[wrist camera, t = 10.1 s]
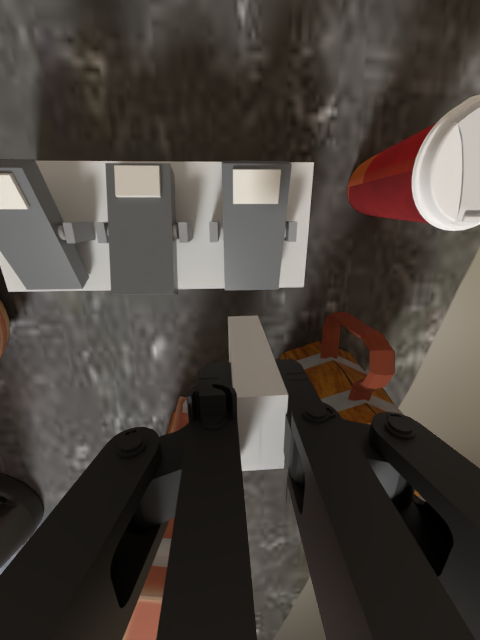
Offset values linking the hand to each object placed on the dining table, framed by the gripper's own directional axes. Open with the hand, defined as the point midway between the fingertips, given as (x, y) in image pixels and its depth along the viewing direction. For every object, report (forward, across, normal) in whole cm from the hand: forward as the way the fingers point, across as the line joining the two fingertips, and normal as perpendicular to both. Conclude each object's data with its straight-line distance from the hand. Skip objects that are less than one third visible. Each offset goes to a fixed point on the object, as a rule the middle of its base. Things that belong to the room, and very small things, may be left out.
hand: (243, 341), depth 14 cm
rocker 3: (+9, +1, +5) cm, 10 cm away
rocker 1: (+9, -15, +5) cm, 18 cm away
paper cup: (+19, +16, +9) cm, 26 cm away
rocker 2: (+9, -7, +5) cm, 12 cm away
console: (+19, -6, +5) cm, 21 cm away
